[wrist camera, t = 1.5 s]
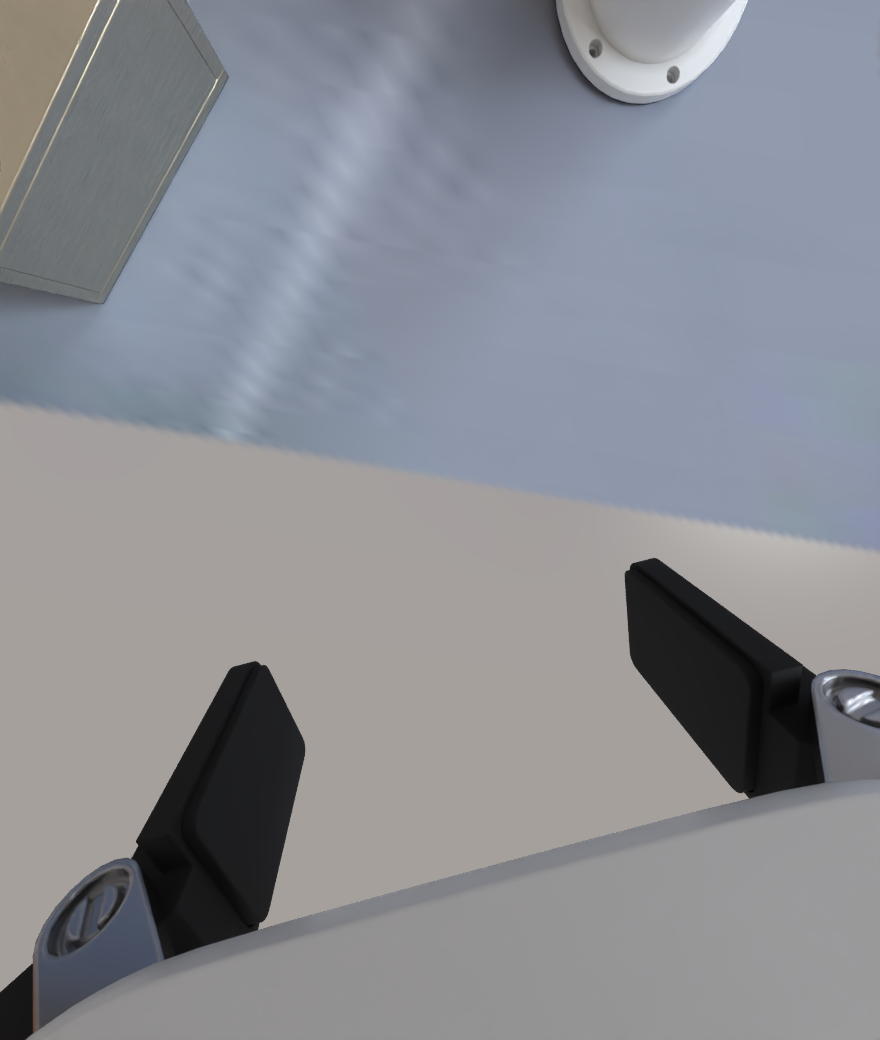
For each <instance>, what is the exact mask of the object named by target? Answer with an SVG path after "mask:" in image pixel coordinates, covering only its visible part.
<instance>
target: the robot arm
mask: <svg viewBox="0 0 880 1040" xmlns="http://www.w3.org/2000/svg"><path fill="white" fill-rule="evenodd" d="M747 2H748V0H556V7H557V14H558V18H559V22H560V26H561V30H562V34H563V37H564V39H565V42H566V44H567V46H568V49H569V51H570V53H571V56H572V58H573V59H574V61H575V62H576V64H577V65H578V67H579V68H580V70H581V71H582V73H583V75H584V76H585V77H586V78H587V79H588V80H589V81H590V82H591V83H592V84H593V85H594V86H595V87H596V88H597V89H599V90H601V91H602V92H604V93H605V94H607V95H609V96H610V97H612V98H614V99H618V100H621V101H624V102H627V103H641V104H646V103H651V102H656V101H660V100H663V99H665V98H668V97H670V96H672V95H674V94H676V93H678V92H680V91H681V90H682V89H684V88H685V87H686V86H688V85H689V84H690V83H692V82H693V81H694V80H696V79H697V78H698V77H699V76H700V75H701V74H702V73H703V72H704V71H705V70H706V69H707V68H708V67H709V66H710V65H711V64H712V63H713V61H714V60H715V59H716V58H717V56H718V55H719V54H720V53H721V51H722V50H723V49H724V48H725V46H726V44H727V43H728V41H729V39H730V38H731V36H732V34H733V32H734V31H735V29H736V27H737V26H738V23H739V21H740V18H741V16H742V14H743V11H744V9H745V6H746V4H747ZM625 588H626V602H627V616H628V632H629V646H630V656H631V659H632V662H633V664H634V666H635V667H636V669H637V670H638V671H639V673H640V674H641V675H642V676H643V678H644V679H645V680H646V681H647V682H648V684H649V685H650V686H651V687H652V689H653V690H654V691H655V692H656V694H657V695H658V696H659V697H660V699H661V700H662V701H663V702H664V704H665V705H666V706H667V707H668V709H669V710H670V711H671V712H672V714H673V715H674V716H675V717H676V719H677V720H678V721H679V722H680V724H681V725H682V726H683V727H684V729H685V730H686V731H687V732H688V733H689V735H690V736H691V737H692V739H693V740H694V741H695V742H696V744H697V745H698V746H699V747H700V748H701V750H702V751H703V752H704V754H705V755H706V756H707V757H708V759H709V760H710V761H711V762H712V764H713V765H714V766H715V767H716V769H717V770H718V771H719V772H720V774H721V775H722V776H723V777H724V778H725V780H726V781H727V782H728V784H729V785H730V786H731V787H732V788H733V789H734V790H735V791H736V792H738V793H743V792H744V793H745V794H746V795H747V796H748V798H749V799H746V800H742V801H738V802H733V803H729V804H725V805H721V806H717V807H713V808H708V809H704V810H700V811H696V812H692V813H689V814H685V815H681V816H677V817H673V818H669V819H666V820H662V821H658V822H654V823H650V824H647V825H643V826H639V827H635V828H632V829H628V830H624V831H620V832H616V833H612V834H609V835H605V836H601V837H597V838H593V839H589V840H586V841H582V842H578V843H574V844H571V845H567V846H563V847H559V848H556V849H552V850H549V851H544V852H541V853H537V854H533V855H529V856H526V857H522V858H518V859H515V860H511V861H507V862H503V863H500V864H496V865H492V866H488V867H485V868H481V869H477V870H474V871H470V872H466V873H463V874H459V875H455V876H451V877H448V878H444V879H440V880H437V881H433V882H429V883H426V884H422V885H418V886H414V887H411V888H407V889H404V890H400V891H396V892H393V893H389V894H385V895H382V896H378V897H375V898H371V899H367V900H364V901H360V902H356V903H353V904H349V905H346V906H342V907H339V908H335V909H331V910H327V911H324V912H320V913H316V914H313V915H309V916H306V917H302V918H298V919H295V920H291V921H288V922H284V923H281V924H277V925H274V926H270V927H267V928H264V929H260V930H258V927H259V923H260V922H263V921H264V920H265V919H266V917H267V915H268V912H269V908H270V904H271V900H272V895H273V891H274V886H275V882H276V878H277V873H278V869H279V865H280V860H281V856H282V852H283V848H284V843H285V839H286V835H287V830H288V826H289V822H290V817H291V813H292V808H293V804H294V800H295V796H296V791H297V787H298V783H299V778H300V774H301V770H302V765H303V761H304V757H305V743H304V740H303V737H302V735H301V733H300V731H299V730H298V727H297V725H296V723H295V721H294V719H293V717H292V715H291V713H290V711H289V709H288V707H287V705H286V703H285V701H284V699H283V697H282V695H281V693H280V691H279V689H278V687H277V685H276V683H275V681H274V679H273V677H272V675H271V673H270V671H269V669H268V667H267V666H266V665H262V666H261V665H260V664H259V663H258V662H256V661H254V662H250V663H246V664H242V665H239V666H234V667H232V668H231V669H230V670H229V672H228V674H227V675H226V677H225V679H224V681H223V683H222V685H221V686H220V688H219V690H218V692H217V694H216V696H215V697H214V699H213V701H212V703H211V705H210V706H209V708H208V710H207V712H206V714H205V716H204V718H203V719H202V721H201V723H200V725H199V727H198V729H197V730H196V732H195V734H194V736H193V738H192V739H191V741H190V743H189V745H188V747H187V749H186V751H185V752H184V754H183V756H182V758H181V760H180V761H179V763H178V765H177V767H176V769H175V771H174V772H173V774H172V776H171V778H170V780H169V782H168V783H167V785H166V787H165V789H164V791H163V793H162V794H161V796H160V798H159V800H158V802H157V804H156V806H155V807H154V810H153V811H152V813H151V815H150V816H149V819H148V820H147V822H146V824H145V826H144V828H143V829H142V831H141V833H140V835H139V837H138V838H137V840H136V843H137V844H138V847H137V849H136V851H135V853H134V855H133V857H132V858H131V859H129V858H122V859H116V860H114V861H111V862H109V863H107V864H105V865H102V866H101V867H99V868H98V869H96V870H95V871H93V872H92V873H90V874H89V875H87V876H86V877H85V878H84V879H83V880H82V881H80V882H79V883H78V884H77V885H76V886H75V887H74V888H73V889H72V890H70V892H69V893H68V894H67V895H66V896H65V897H64V898H63V900H61V902H60V903H59V904H58V905H57V906H56V907H55V909H54V910H53V912H52V913H51V915H50V916H49V918H48V919H47V921H46V922H45V924H44V925H43V927H42V929H41V932H40V934H39V936H38V938H37V940H36V943H35V948H34V954H33V964H31V965H30V966H29V967H28V968H27V969H26V970H25V971H24V972H22V973H21V974H20V975H19V976H18V977H17V978H16V979H15V980H14V981H12V982H11V983H10V984H9V985H8V986H7V987H6V988H5V989H4V990H2V991H1V992H0V1040H880V676H877V675H874V674H870V673H866V672H862V671H855V670H845V669H842V670H829V671H826V672H823V673H820V674H818V675H817V676H816V675H815V674H814V673H812V672H811V671H809V670H808V669H807V668H805V667H804V666H803V665H802V664H801V663H800V662H798V661H797V660H795V659H794V658H793V657H791V656H790V655H789V654H787V653H786V652H784V651H783V650H782V649H780V648H779V647H778V646H776V645H775V644H774V643H772V642H771V641H769V640H768V639H766V638H765V637H764V636H762V635H761V634H760V633H758V632H757V631H756V630H754V629H753V628H752V627H750V626H749V625H747V624H746V623H745V622H743V621H742V620H741V619H739V618H738V617H737V616H735V615H734V614H732V613H731V612H730V611H728V610H727V609H726V608H724V607H723V606H721V605H720V604H719V603H717V602H716V601H715V600H713V599H712V598H711V597H709V596H708V595H706V594H705V593H704V592H702V591H701V590H699V589H698V588H697V587H695V586H694V585H692V584H691V583H690V582H689V581H687V580H686V579H684V578H683V577H682V576H680V575H679V574H678V573H676V572H675V571H673V570H672V569H671V568H669V567H668V566H667V565H665V564H664V563H663V562H661V561H660V560H658V559H656V558H652V559H648V560H644V561H640V562H636V563H633V564H632V565H631V566H630V570H628V571H626V572H625Z"/></svg>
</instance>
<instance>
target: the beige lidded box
mask: <svg viewBox="0 0 880 1040" xmlns="http://www.w3.org/2000/svg"><path fill="white" fill-rule="evenodd" d="M228 77H229V76H228V74H227V72H226V71H225V69H224V67H223V65H222V63H221V61H220V60H219V58H218V56H217V54H216V53H215V51H214V49H213V47H212V46H211V44H210V42H209V40H208V39H207V37H206V35H205V33H204V31H203V30H202V28H201V26H200V24H199V23H198V21H197V19H196V17H195V16H194V14H193V12H192V10H191V9H190V7H189V5H188V3H187V1H186V0H0V282H4V283H9V284H13V285H18V286H23V287H27V288H32V289H36V290H41V291H45V292H50V293H54V294H59V295H64V296H68V297H73V298H77V299H82V300H86V301H91V302H96V303H101V304H103V303H104V302H105V300H106V298H107V296H108V295H109V293H110V291H111V289H112V287H113V285H114V284H115V282H116V280H117V278H118V276H119V275H120V273H121V271H122V269H123V267H124V266H125V264H126V262H127V260H128V258H129V257H130V255H131V253H132V251H133V249H134V247H135V246H136V244H137V242H138V240H139V238H140V237H141V235H142V233H143V231H144V229H145V228H146V226H147V224H148V222H149V220H150V219H151V217H152V215H153V213H154V211H155V209H156V208H157V206H158V204H159V202H160V200H161V199H162V197H163V195H164V193H165V191H166V190H167V188H168V186H169V184H170V182H171V181H172V179H173V177H174V175H175V173H176V171H177V170H178V168H179V166H180V164H181V162H182V161H183V159H184V157H185V155H186V153H187V152H188V150H189V148H190V146H191V144H192V143H193V141H194V139H195V137H196V135H197V133H198V132H199V130H200V128H201V126H202V124H203V123H204V121H205V119H206V117H207V115H208V114H209V112H210V110H211V108H212V106H213V104H214V103H215V101H216V99H217V97H218V95H219V94H220V92H221V90H222V88H223V86H224V85H225V83H226V81H227V79H228Z"/></svg>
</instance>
